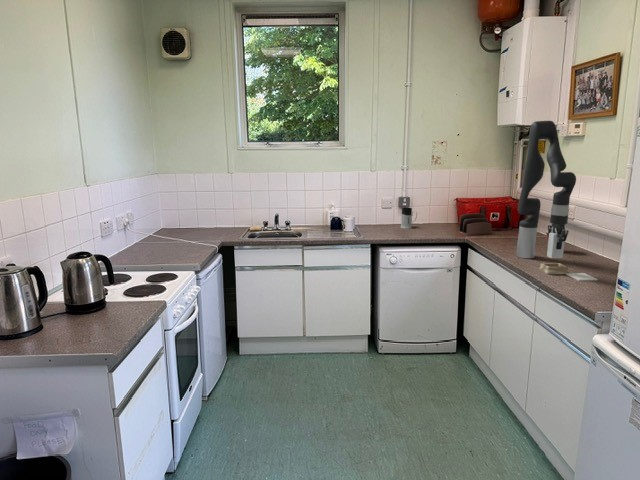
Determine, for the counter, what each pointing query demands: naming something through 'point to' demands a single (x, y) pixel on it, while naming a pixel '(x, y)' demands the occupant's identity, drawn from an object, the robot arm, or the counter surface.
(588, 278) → the pad
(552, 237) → the skincare box
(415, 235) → the counter surface
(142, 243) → the counter surface
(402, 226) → the tall grey mug
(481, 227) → the letter holder
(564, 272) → the collar
